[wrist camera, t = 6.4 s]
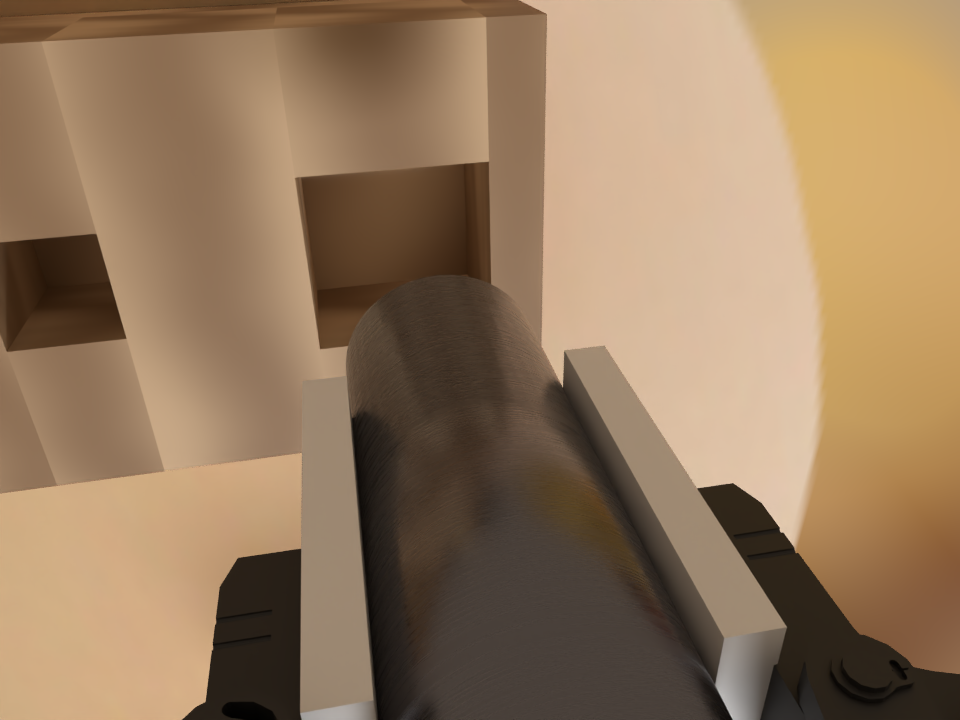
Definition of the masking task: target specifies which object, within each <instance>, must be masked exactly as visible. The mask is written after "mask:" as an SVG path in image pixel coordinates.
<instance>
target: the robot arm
mask: <svg viewBox="0 0 960 720" xmlns="http://www.w3.org/2000/svg"><path fill="white" fill-rule="evenodd" d="M563 389H564V391H565V393H566V395H567V397H568V399H569V401H570V403H571V405H572V407H573V409H574V411H575V413H576V415H577V417H578V419H579V420H580V422H581V424H582V426H583V428H584V430H585V432H586V434H587V436H588V438H589V440H590V442H591V444H592V446H593V448H594V450H595V452H596V454H597V456H598V458H599V460H600V461H601V463H602V465H603V467H604V469H605V471H606V473H607V475H608V477H609V479H610V481H611V483H612V485H613V487H614V489H615V491H616V493H617V495H618V497H619V499H620V501H621V502H622V504H623V506H624V508H625V510H626V512H627V514H628V516H629V518H630V520H631V522H632V524H633V526H634V528H635V530H636V532H637V534H638V536H639V538H640V540H641V542H642V543H643V545H644V547H645V549H646V551H647V553H648V555H649V557H650V559H651V561H652V563H653V565H654V567H655V569H656V571H657V573H658V575H659V577H660V579H661V581H662V583H663V584H664V586H665V588H666V590H667V592H668V594H669V596H670V598H671V600H672V602H673V604H674V606H675V608H676V610H677V612H678V614H679V616H680V618H681V620H682V622H683V624H684V625H685V627H686V629H687V631H688V633H689V635H690V637H691V639H692V641H693V643H694V645H695V647H696V649H697V651H698V653H699V655H700V657H701V659H702V661H703V663H704V665H705V666H706V668H707V670H708V672H709V674H710V676H711V678H712V680H713V682H714V684H715V686H716V688H717V690H718V692H719V694H720V696H721V698H722V700H723V702H724V704H725V706H726V707H727V709H728V711H729V713H730V715H731V717H732V719H733V720H960V674H952V673H944V672H935V671H929V670H924V669H920V668H915V667H913V666H912V665H911V664H910V662H909V661H908V660H907V659H906V658H905V657H903V656H902V655H901V654H899V653H898V652H897V651H895V650H894V649H893V648H891V647H890V646H889V645H887V644H885V643H882V642H880V641H877V640H875V639H873V638H870V637H868V636H865V635H860V634H859V633H858V632H857V631H856V630H855V629H854V628H853V627H852V625H851V624H850V623H849V621H848V620H847V618H846V617H845V616H844V614H843V613H842V612H841V610H840V609H839V608H838V606H837V605H836V604H835V602H834V601H833V599H832V598H831V597H830V596H829V594H828V593H827V592H826V590H825V589H824V587H823V586H822V585H821V584H820V582H819V581H818V579H817V578H816V576H815V575H814V574H813V572H812V571H811V570H810V568H809V567H808V566H807V564H806V563H805V562H804V560H803V559H802V557H801V556H800V555H799V554H798V553H795V550H794V547H793V545H792V544H791V543H790V541H789V540H788V538H787V537H786V536H785V534H784V533H781V532H780V528H779V526H778V525H777V524H776V522H775V521H774V520H773V518H772V517H771V515H770V514H769V513H768V511H767V510H766V509H765V507H764V506H763V505H762V503H761V502H759V501H758V500H756V499H755V498H753V497H752V496H751V495H749V494H748V493H746V492H745V491H743V490H742V489H741V488H739V487H738V486H736V485H735V484H733V483H732V484H725V485H718V486H711V487H704V488H696V486H695V485H694V483H693V482H692V480H691V479H690V477H689V475H688V474H687V472H686V471H685V469H684V468H683V466H682V465H681V463H680V462H679V460H678V458H677V457H676V455H675V454H674V452H673V451H672V449H671V448H670V446H669V445H668V443H667V442H666V440H665V438H664V437H663V435H662V434H661V432H660V431H659V429H658V428H657V426H656V425H655V423H654V421H653V420H652V418H651V417H650V415H649V414H648V412H647V411H646V409H645V408H644V406H643V405H642V403H641V401H640V400H639V398H638V397H637V395H636V394H635V392H634V391H633V389H632V388H631V386H630V384H629V383H628V381H627V380H626V378H625V377H624V375H623V374H622V372H621V371H620V369H619V368H618V366H617V364H616V363H615V361H614V360H613V358H612V357H611V355H610V354H609V352H608V351H607V349H606V347H605V346H599V347H590V348H582V349H573V350H564V377H563ZM182 720H378V712H377V701H376V689H375V678H374V666H373V654H372V643H371V631H370V620H369V608H368V597H367V585H366V574H365V562H364V551H363V539H362V527H361V516H360V504H359V493H358V481H357V470H356V458H355V447H354V435H353V424H352V414H351V407H350V399H349V391H348V383H347V376H342V377H333V378H325V379H316V380H308V381H302V521H301V549H296V550H289V551H283V552H276V553H269V554H262V555H255V556H249V557H242V558H238V559H237V561H236V562H235V564H234V565H233V567H232V569H231V570H230V572H229V573H228V575H227V577H226V578H225V580H224V581H223V583H222V584H221V586H220V590H219V598H218V606H217V614H216V624H215V631H214V639H213V650H212V655H211V663H210V671H209V679H208V687H207V696H206V702H205V703H203V704H201V705H199V706H197V707H196V708H194V709H193V710H192V711H191V712H190V713H189V714H188V715H187V716H186V717H185V718H183V719H182Z"/></svg>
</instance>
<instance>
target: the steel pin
mask: <svg viewBox="0 0 960 720" xmlns="http://www.w3.org/2000/svg"><path fill="white" fill-rule="evenodd" d="M346 376H347V383H348V391H349V399H350V407H351V414H352V424H353V435H354V447H355V458H356V470H357V481H358V493H359V504H360V516H361V527H362V539H363V551H364V562H365V574H366V585H367V597H368V608H369V620H370V631H371V643H372V654H373V666H374V678H375V689H376V701H377V712H378V720H733V719H732V717H731V715H730V713H729V711H728V709H727V707H726V706H725V704H724V702H723V700H722V698H721V696H720V694H719V692H718V690H717V688H716V686H715V684H714V682H713V680H712V678H711V676H710V674H709V672H708V670H707V668H706V666H705V665H704V663H703V661H702V659H701V657H700V655H699V653H698V651H697V649H696V647H695V645H694V643H693V641H692V639H691V637H690V635H689V633H688V631H687V629H686V627H685V625H684V624H683V622H682V620H681V618H680V616H679V614H678V612H677V610H676V608H675V606H674V604H673V602H672V600H671V598H670V596H669V594H668V592H667V590H666V588H665V586H664V584H663V583H662V581H661V579H660V577H659V575H658V573H657V571H656V569H655V567H654V565H653V563H652V561H651V559H650V557H649V555H648V553H647V551H646V549H645V547H644V545H643V543H642V542H641V540H640V538H639V536H638V534H637V532H636V530H635V528H634V526H633V524H632V522H631V520H630V518H629V516H628V514H627V512H626V510H625V508H624V506H623V504H622V502H621V501H620V499H619V497H618V495H617V493H616V491H615V489H614V487H613V485H612V483H611V481H610V479H609V477H608V475H607V473H606V471H605V469H604V467H603V465H602V463H601V461H600V460H599V458H598V456H597V454H596V452H595V450H594V448H593V446H592V444H591V442H590V440H589V438H588V436H587V434H586V432H585V430H584V428H583V426H582V424H581V422H580V420H579V419H578V417H577V415H576V413H575V411H574V409H573V407H572V405H571V403H570V401H569V399H568V397H567V395H566V393H565V391H564V389H563V387H562V385H561V383H560V381H559V379H558V378H557V376H556V374H555V372H554V370H553V368H552V366H551V364H550V362H549V360H548V358H547V356H546V354H545V352H544V350H543V348H542V346H541V344H540V342H539V340H538V338H537V337H536V335H535V333H534V331H533V329H532V327H531V325H530V323H529V321H528V319H527V317H526V316H525V314H524V312H523V310H522V309H521V308H520V307H519V305H518V304H517V303H516V302H515V301H514V300H513V299H512V298H511V297H510V296H509V295H508V294H506V293H505V292H503V291H502V290H501V289H499V288H498V287H496V286H494V285H492V284H490V283H488V282H485V281H482V280H479V279H477V278H472V277H468V276H462V275H435V276H428V277H423V278H420V279H416V280H413V281H410V282H407V283H405V284H403V285H400V286H398V287H397V288H395V289H393V290H391V291H390V292H388V293H386V294H385V295H384V296H382V297H381V298H380V299H378V300H377V301H376V302H375V303H374V304H373V305H372V306H371V307H370V308H369V309H368V310H367V311H366V312H365V314H364V315H363V316H362V317H361V319H360V320H359V322H358V324H357V325H356V327H355V329H354V331H353V333H352V336H351V338H350V341H349V345H348V349H347V354H346Z"/></svg>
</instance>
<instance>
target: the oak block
mask: <svg viewBox="0 0 960 720" xmlns="http://www.w3.org/2000/svg"><path fill="white" fill-rule="evenodd" d="M546 31H547V14H546V13H544V12H541V11H539V10H537V9H535V8H533V7H531V6H529V5H527V4H525V3H523V2H521V1H519V0H336V1H315V2H295V3H275V4H255V5H235V6H215V7H194V8H174V9H154V10H134V11H114V12H93V13H73V14H53V15H33V16H13V17H0V493H7V492H14V491H22V490H29V489H37V488H44V487H52V486H59V485H66V484H74V483H81V482H89V481H96V480H104V479H111V478H118V477H126V476H133V475H141V474H148V473H155V472H163V471H170V470H178V469H185V468H193V467H200V466H207V465H215V464H222V463H230V462H237V461H244V460H252V459H259V458H267V457H274V456H282V455H289V454H296V453H302V381H308V380H316V379H325V378H333V377H342V376H346V354H347V349H348V345H349V341H350V338H351V336H352V333H353V331H354V329H355V327H356V325H357V324H358V322H359V320H360V319H361V317H362V316H363V315H364V314H365V312H366V311H367V310H368V309H369V308H370V307H371V306H372V305H373V304H374V303H375V302H376V301H377V300H378V299H380V298H381V297H382V296H384V295H385V294H386V293H388V292H390V291H391V290H393V289H395V288H397V287H398V286H400V285H403V284H405V283H407V282H410V281H413V280H416V279H420V278H423V277H428V276H435V275H462V276H468V277H472V278H477V279H479V280H482V281H485V282H488V283H490V284H492V285H494V286H496V287H498V288H499V289H501V290H502V291H503V292H505V293H506V294H508V295H509V296H510V297H511V298H512V299H513V300H514V301H515V302H516V303H517V304H518V305H519V307H520V308H521V309H522V310H523V312H524V314H525V316H526V317H527V319H528V321H529V323H530V325H531V327H532V329H533V331H534V333H535V335H536V337H537V338H538V340H539V342H540V344H541V332H542V272H543V211H544V151H545V91H546Z"/></svg>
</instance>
